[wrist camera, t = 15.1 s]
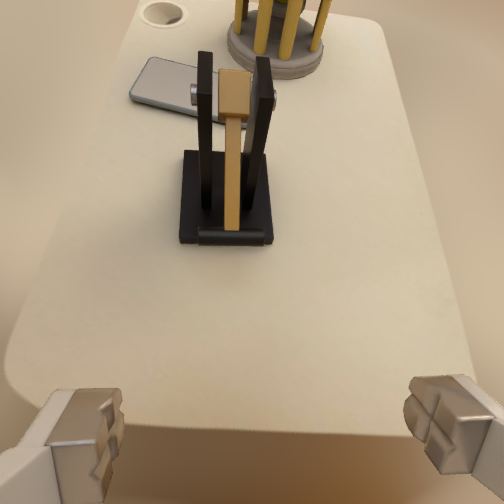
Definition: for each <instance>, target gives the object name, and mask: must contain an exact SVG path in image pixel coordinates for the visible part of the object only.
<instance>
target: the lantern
mask: <svg viewBox="0 0 504 504" xmlns="http://www.w3.org/2000/svg"><path fill="white" fill-rule="evenodd" d="M331 1H332V0H321V3H320V7H319V10H318V14H317V17H316V21H315V25H314V27H313V26H312V25H311V24H309V23H308V22H306V21H305V20H304V19H302V18H300V14H301V13H302V12H303V10H304V8H305V3H306V0H259V7H258V10H253V11H249V12H248V3H249V0H236V5H235V20H234V21H233V23H232V24H231V26H230V28H229V30H228V37H227V43H228V50H229V52H230V54H231V55H232V57H233V58H234V60H235V61H236V62H238V63H239V64H240V65H241V66H243V67H244V68H245V69H247V70H249V71H252V72H254V66H255V58H256V56H262V57H269V58H270V65H271V73H272V78H274V79H294V78H299V77H304V76H306V75H308V74H310V73H311V72H313V71H314V70H315V69H316V68H317V67H318V65H319V64H320V61H321V58H322V54H323V47H324V46H323V43H322V40H321V35H322V32H323V28H324V25H325V22H326V18H327V15H328V12H329V8H330V5H331Z"/></svg>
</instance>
